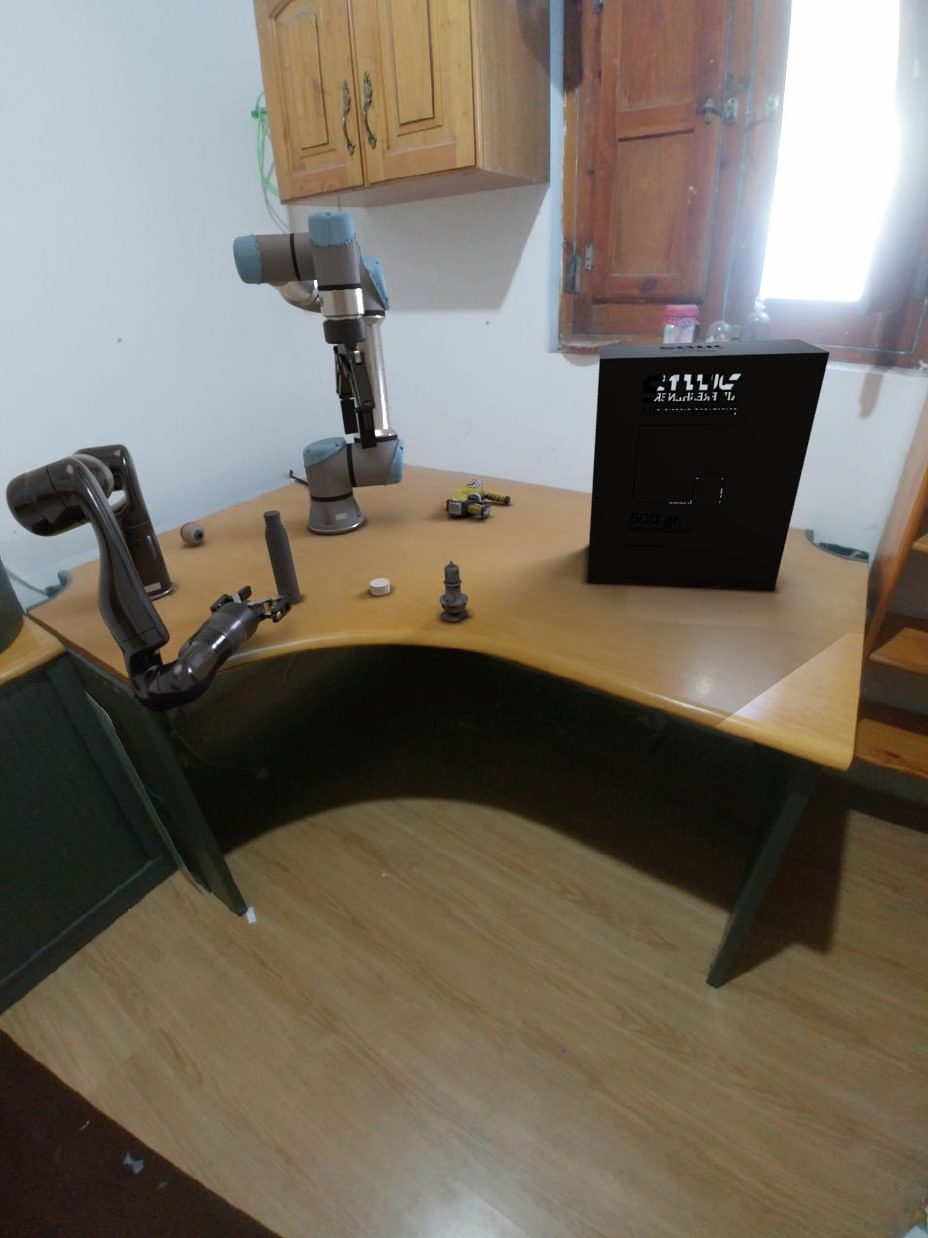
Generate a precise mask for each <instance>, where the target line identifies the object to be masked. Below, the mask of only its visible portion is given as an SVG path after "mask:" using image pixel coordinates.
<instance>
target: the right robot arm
mask: <svg viewBox="0 0 928 1238" xmlns="http://www.w3.org/2000/svg"><path fill="white" fill-rule="evenodd" d="M307 229H308V231H304V232H291V233H272V234H271V233H270V234H254V233H251V234H247V235H241V236H237V237H235V238H234V240H233V244H232V253H233V259H234V263H235V267H236V271H237V274H238V276H239V278H240V280H241V281H242V283H244V284H245V285H258V286H260V285H262V284H267V285H269V286H270V287H272V288H274V289H275V290H277V291H278V292H279V294H280V296H281V297H282V299H283V300H284V301H285V302H286V303H288V304H290V305H292V306H293V307H295V308H298V309H301V310H304V311H306V312H307V311H308V312H312V313H317V314H320V315H321V316H322V317H323V318H325V320H323V322H322V329H323V335H324V341H325V343H326V344H329V345H333V347H332V351H333V356H334V357H333V358H334V373H335V376H334V377H335V393H336V395H337V396H338V398H339V403H340V409H341V417H342V425H343V431H344V435H345V436H347V435H352V434H353V442H349V443H348V442H347V440H346V439H345V437H343V436H332V437H327V438H323V439H319V440H316V441H314V442H312V443H311V442H310V443H309V444H308V445H306V446H305V447H304V448H303V450H302V457H303V459H302V460H303V467H304V471H305V476H306V480H304V479H301V478H299V477H296V476H294V474H293V473H294V471H293V469H290V470H289V476H290V478H291V479H293V480H295V481H298V482H300V483H302V484H304V485H306V486H308V492H309V498H310V507H309V513H308V528H309V529H308V530H310V531H311V532H312V533H314V534H317V535H323V536H324V535H325V536H327V535H329V536H331V535H339V534H340V535H341V534H345V533H350V532H353V531H355V530H357V529H359V528H361V527H362V526H363V525H364V523H365V519H364V514H363V512H362V510H361V508H360V505H359V504H358V501H357V500H356V498H355V495H354V489H353V488H366V487H367V488H368V487H376V486H378V487H379V486H385V487H386V486H391V485H397V484H399V483H401V482H402V481H403V476H404V475H403V474H404V473H403V472H404V442H405V441H404V439H402V438H399V435H398V432H397V430H395V428H394V427H393V426H392V424H391V423H392V422H391V415H390V414H391V413H390V405H389V404H390V403H389V396H388V395H389V394H388V385H387V376H386V368H385V357H384V348H383V340H382V339H383V338H382V330H381V329H382V328H381V326H382V324H383V323H384V321H385V320H386V311H389V310H390V309H391V303H390V299H389V295H388V290H387V285H386V280H385V275H384V272H383V267H382V263H381V261H380V259H379V258H378V257H376V256H374V255H362V252H361V247H360V245H359V243H358V240H357V236H356V235H357V231H356V229H355V223H354V217H353V215H352V214H351V213H349V212H348V211H343V210H332V211H330V210H329V211H328V210H327V211H318V212H313V213H310V214H309V215H308V217H307Z"/></svg>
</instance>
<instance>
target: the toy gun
mask: <svg viewBox="0 0 928 1238" xmlns="http://www.w3.org/2000/svg"><path fill="white" fill-rule="evenodd" d="M482 486H483V480H481V479H478V480H477V479H476V478H474V479H472V480H471V481H470V482H469V483H466V484H465V485H463V486H462V487H461V488H460V489H458V490H457V491H456V492H455V493H454V494H452V495H451V496H450V497H449V498H448V499H446V501H445V512H446V513H447V514H450V516H454V517H456V516H467V515H477V516H479V517H480V519H481V520H484V519H486V518H487V517H489V516H490V513H491V504H490V503H485V504H484V502H483V501H485V500H488V501H491V502H496V503H499V504H501V503H502V504H504V505H509V504H510V503H511V497H510V495H503V494H500V493H495V492H492V491H487V493H486V494H485V491H484V490H483V488H481V487H482Z"/></svg>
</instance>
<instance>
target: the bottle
mask: <svg viewBox="0 0 928 1238" xmlns="http://www.w3.org/2000/svg"><path fill="white" fill-rule="evenodd" d="M280 513H281V512H280V511H279V510H273V509H272V510H267V511H264V512H263V514H262V517H263V519H264V522H265V529H264V539H265V543H266V548H267V552H268V555H269V560H270V565H271V569H272V573H273V577H274V582H275V586H276V590H277V595H278V594H279V593H280V592H281V591H282V590H283V589H284V588H285V587H288V588H289V590H290V592H291V598H290V603H291V605H295V604H296V603H299V602H300V601H301V600H302V597H301V591H300V587H299V582H298V577H297V572H296V568H295V563H294V558H293V554H292V549H291V544H290V540H289V534H288V532H287V529H286V527H285V526H284V525H283V523H282V519H281V514H280Z"/></svg>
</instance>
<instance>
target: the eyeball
mask: <svg viewBox="0 0 928 1238" xmlns="http://www.w3.org/2000/svg"><path fill="white" fill-rule="evenodd" d="M179 532H180V533H179V535H180V538H181V539H182V542H184V543H185V544H187V545H191V546H192V545H193V546H194V545H199V544H200V543H202V542H203V540H204V539H205V535H206V533H205V528H204V527H203V526H202V525H201V524H200V523H198V522H195V521H190V522H189V521H188V522H186V523H184V524H183V525H182V526H181V528H180V530H179Z"/></svg>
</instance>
